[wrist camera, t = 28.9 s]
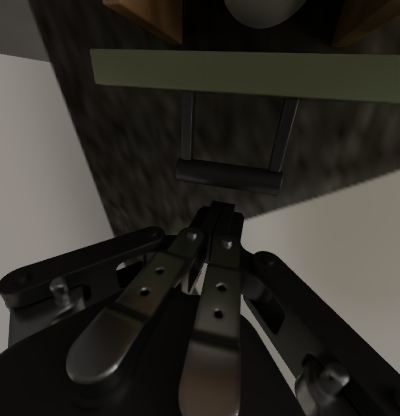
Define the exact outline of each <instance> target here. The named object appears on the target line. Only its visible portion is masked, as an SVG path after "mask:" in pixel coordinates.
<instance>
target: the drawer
mask: <svg viewBox="0 0 400 416" xmlns="http://www.w3.org/2000/svg"><path fill="white" fill-rule="evenodd" d="M102 2H103V4H104V5H106V6H107V7H109V8H111V9H112V10H114V11H116V12H117V13H119V14H121V15H122V16H124V17H126V18H128V19H129V20H131V21H133V22H134V23H136V24H138V25H139V26H141V27H143V28H144V29H146V30H148V31H149V32H151V33H153V34H154V35H156V36H158V37H160V38H161V39H163V40H165V41H166V42H168V43H170V44H171V45H181V44H182V21H183V0H102ZM399 14H400V0H344V3H343V7H342V10H341V13H340V17H339V20H338V23H337V27H336V30H335V34H334V37H333V40H332V44H331V47H348V46H349V45H351V44H352V43H354V42H356V41H357V40H359V39H360V38H362V37H364V36H365V35H367V34H369V33H370V32H372V31H373V30H375V29H377V28H378V27H380V26H382V25H383V24H385V23H386V22H388V21H390V20H391V19H393V18H395V17H396V16H398V15H399ZM90 55H91V61H92V67H93V73H94V79H95V84H98V85H110V86H121V87H133V88H144V89H156V90H169V91H182V114H181V158H179V160H178V161H177V164H176V178H177V180H179V181H185V182H192V183H198V184H204V185H210V186H216V187H223V188H229V189H235V190H241V191H248V192H254V193H260V194H266V195H272V196H278V195H279V193H280V190H281V187H282V182H283V172H282V171H281V167H282V163H283V160H284V156H285V152H286V148H287V144H288V141H289V137H290V133H291V129H292V126H293V122H294V118H295V114H296V110H297V107H298V103H299V99H307V100H323V101H338V102H363V103H389V104H400V55H363V54H316V53H270V52H223V51H177V50H131V49H90ZM196 92H200V93H215V94H231V95H246V96H261V97H277V98H285V99H284V103H283V107H282V112H281V116H280V120H279V124H278V129H277V133H276V137H275V142H274V146H273V150H272V155H271V159H270V163H269V169H262V168H255V167H247V166H240V165H233V164H225V163H218V162H210V161H203V160H196V159H192V158H193V148H194V124H195V101H196Z"/></svg>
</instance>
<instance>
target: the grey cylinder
mask: <svg viewBox="0 0 400 416" xmlns="http://www.w3.org/2000/svg"><path fill="white" fill-rule="evenodd" d="M306 1H307V0H224V2H225V5H226V7H227V8H228V10H229V12H230V13H231V14H232V16H233V17H234V18H235V19H236V20H237V21H239V22H240V23H242V24H243V25H246V26H248V27H252V28H259V29H261V28H268V27H272V26H275V25H278V24H280V23H282V22H283V21H285V20H287V19H288V18H290V17H291V16H292V15H293V14H295V13H296V12H297V11H298V10H299V9H300V8H301V7H302V6H303V4H304V3H305V2H306Z"/></svg>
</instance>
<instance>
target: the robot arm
mask: <svg viewBox="0 0 400 416" xmlns="http://www.w3.org/2000/svg"><path fill="white" fill-rule="evenodd" d="M234 209H235V204H229V203H224V202H218V201H213V202H212V204H211V206H210V207H206V206H204V207H202V208H200V209H199V210H198V212H197V214H196V215H195V217H194V219H193V221H192V222H191V224H190V226H189V227H187V228H184V229H182V230H181V231H180V232H179V234H178V235H165V232H164V230H163V229H161V228H159V227H147V228H144V229H141V230H137V231H134V232H131V233H128V234H125V235H122V236H119V237H115V238H112V239H109V240H106V241H103V242H100V243H97V244H94V245H90V246H87V247H84V248H81V249H78V250H75V251H72V252H68V253H65V254H62V255H59V256H56V257H53V258H49V259H46V260H43V261H40V262H37V263H34V264H31V265H27V266H24V267H21V268H19V269H16V270H14V271H12V272H10V273H8V274H7V275H6V276H4V277H3V278H2V279H1V280H0V295H1V296H2V298H3V299H4V301H5V305H6V307H7V308H8V310H9V311H10V324H9V340H8V348H7V349H6V350H5V351H3V352H2V353H1V354H0V416H400V374H399V373H398V372H397V371H396V370H395V369H394V368H393V367H392V366H391V365H389V364H388V363H387V362H386V361H385V360H384V359H383V358H382V357H381V356H380V355H379V354H378V353H377V352H376V351H375V350H374V349H373V348H372V347H371V346H370V345H369V344H368V343H367V342H366V341H365V340H364V339H363V338H362V337H361V336H359V335H358V334H357V333H356V332H355V331H354V330H353V329H352V328H351V327H350V326H349V325H348V324H347V323H346V322H345V321H344V320H343V319H342V318H341V317H340V316H339V315H338V314H336V312H335V311H334V310H333V309H332V308H330V307H329V306H328V305H327V304H326V303H325V302H324V301H323V300H322V299H321V298H320V297H319V296H318V295H317V294H316V293H315V292H314V291H313V290H312V289H311V288H310V287H309V286H308V285H307V284H306V283H305V282H303V281H302V279H300V278H299V277H298V276H297V275H296V274H295V273H294V272H293V271H292V270H291V269H290V268H289V267H288V266H287V265H286V264H285V263H284V262H283V261H282V260H281V259H280V258H279V257H277V256H276V255H275V254H273V253H270V252H267V251H259V252H256V253H255V254H252V253H250V252H248V251H246V250H245V249H244V248H243V247H242V245H241V242H240V241H241V235H242V228H243V222H244V216H243V215H242V213H238V212H234ZM140 255H141V261H139V262H137V263H134V264H132V265H129V266H127V267H125V268H122V269H120V270H116V269H117V267H118V265H119V264H121V263H123V262H125V261H128V260H130V259H133V258H135V257H138V256H140ZM204 263H207V264H208V265H207V270H206V274H205V279H204V283H203V287H202V292H201V295H191V294H192V291H193V289H194V287H195V285H196V283H197V281H198V279H199V276H200V274H201V269H202V267H203V264H204ZM241 294H242V295H243V298H244V301H245V303H246V304H247V306H248V307H249V309H250V310H251V312H252V313H253V315H254V316H255V318H256V319H257V321H258V322H259V324H260V325H261V327H262V328H263V330H264V331H265V333H266V334H267V336H268V337H269V339H270V340H271V342H272V344H273V345H274V347H275V348H276V350H277V351H278V353H279V354H280V356H281V357H282V359H283V360H284V362H285V363H286V365H287V366H288V368H289V369H290V371H291V372H292V374H293V375H294V376H295V378H296V381H295V394H296V397H295V395H294V394H293V392H292V390H291V389H290V387H289V385H288V384H287V382H286V380H285V378H284V377H283V375H282V373H281V372H280V370H279V368H278V367H277V365H276V363H275V362H274V360H273V358H272V356H271V355H270V353H269V351H268V350H267V348H266V346H265V345H264V343H263V341H262V340H261V338H260V336H259V334H258V333H257V331H256V330H255V328H254V327H253V326H252V324H251V323H250V322H249V321H248V320H247V319H246V318H245V317H244V316H243V315H241V314H240V306H241V305H240V304H241ZM296 398H297V399H296Z"/></svg>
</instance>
